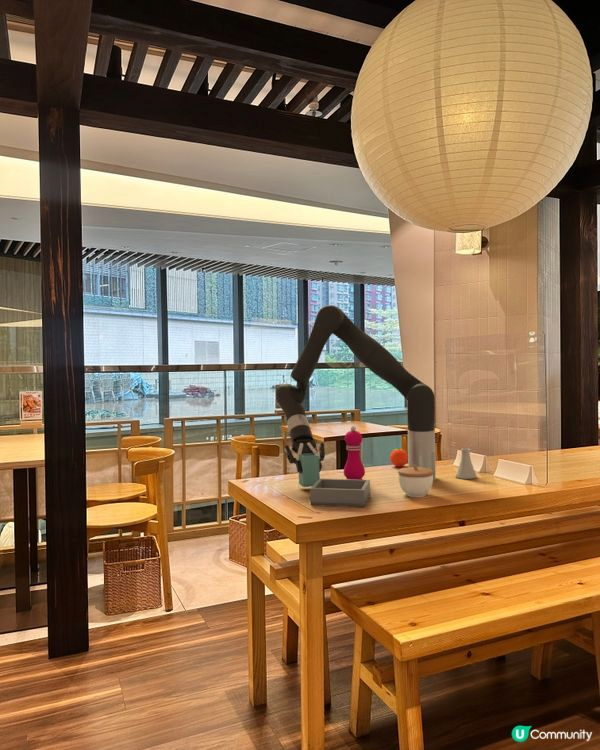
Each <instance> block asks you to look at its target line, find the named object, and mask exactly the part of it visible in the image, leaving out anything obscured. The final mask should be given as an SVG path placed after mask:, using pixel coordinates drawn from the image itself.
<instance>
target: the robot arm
mask: <svg viewBox="0 0 600 750" xmlns="http://www.w3.org/2000/svg"><path fill="white" fill-rule="evenodd" d="M332 335H333V336H334V335H335V336H336V338H338V339H340V340H341V341H342V342H343V343H344V344H345V345H346V346H347V347H348V349H349V350H350V352H351V353H352V354H354V356H355V357H356V358H357V360H359V362H360V363H361V364H362V365H363V366H364V367H366V368H367V370H369V371H370V372H372V373H373V374H375V376H377V377H379V378H380V379H382V380H383V381H385V382H386V383H387V384H390V385H391V386H392V387H394V388H395V389H396V390H397V392H399V393H400V394H401V396H403V398H404V399H406V402H407V403H406V407H407V408H406V409H407V410H406V411H407V412H406V413H407V455H408V461H407V463H408V465H407V466H408V467H414V465H417V467H422V468H428V469H431V470H433V482H435V481H436V479H437V478H436V477H437V475H436V474H437V473H436V472H437V471H436V468H437V466H436V435H435V434H436V428H435V426H436V401H435V400H436V399H435V393H434V391H433V389H432V388H431V387H430V386H429V385H427V384H426V383H424V382H422V381H421V380H419V379H418V378H416V376H414V375H412V374H411V373H410V372H409V371H408V370H407V369H405V367H404V366H403V365H402V364H401V363H400V361H398V359H397V358H396V357H394V355H393V354H392V353H391V352H390V351H388V349H386V348H385V347H384V346H383V345H382V344H381V343H379V342H378V341H377V340H375V339H374V338H373V337H371V335H369V334H367V333H366V332H364V331H363V330H362V329H361V328H359V327H358V326H357V325H356V324H355V323H354V322H353V321H352V319H350V318H349V316H348V315H346V313H344V311H343V310H342V309H341V308H340V307H338V306H337V305H331V304H330V305H329V304H328V305H324V306H322V307H321V308H320V309H319V310H318V311H317V314H316V316H315V320H314V322H313V327H312V330H311V332H310V334H309V337H308V339H307V341H306V344H305V346H304V347H303V349H302V351H301V353H300V355H299V356H298V358H297V361H296V363H295V365H294V366H293V368H292V369H291V372H290V377H291V379H293V380H294V381H295V382H296V386H295V385H292V384H289V383H282V384H280V385H279V386H278V387H277V389H276V392H275V397H276V401H277V403H278V405H279V406H280V408H281V410H282V412H283V413H284V415H285V418H286V423H287V430H288V431H287V432H288V435H289V437H290V442H291V445H288V444H287V445H285V447H284V450H283V452H284V454H285V457H286V459H287V460H288V462H289V464H294V465H295V467H296V471H297V473H298V474H299V473H300V474H301V473H302V471H303V469H302V465H301V461H300V457H299V455H301V454H305V453H312V454H313V453H316V454H318V452H319V470H320V471H322V469H323V465H322V462H324V460H325V456H326V454H325V453H326V451H325V443H324V442H320V443H317V442H315V440H314V436H313V434H312V429H311V426H310V423H309V420H308V418H307V414H306V410H305V408H304V406H303V405H302V404H303V403H304V401H305V399H306V394H307V390H308V385H309V382H310V379H311V377H312V376H313V373H314V371H315V369H316V368H317V366H318V362H319V361H320V357H321V355H322V352H323V350H324V348H325V345H326V344H327V342H328V340H329V339H330V338H331V336H332ZM316 449H317V450H316ZM292 451H293V452H294V453H296V457H294V454H293V452H292ZM317 451H318V452H317ZM408 467H407V468H408Z"/></svg>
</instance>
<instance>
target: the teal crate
mask: <svg viewBox="0 0 600 750" xmlns="http://www.w3.org/2000/svg"><path fill="white" fill-rule="evenodd" d="M319 456H320V454H318V453H317V454H316V453H313V454H312V453H305V454H301V455H299V457H300V461H301V465H302V469H303V471H302V473H301V474H300V473H299V472H298V484H299V485H300V486H301V487H302V488H311V487H312V486H313V485H314V484H315V483H316V482H317V481H318V480H319V479H321V475H320V473H321V470H319Z"/></svg>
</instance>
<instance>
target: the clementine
mask: <svg viewBox="0 0 600 750" xmlns="http://www.w3.org/2000/svg"><path fill="white" fill-rule="evenodd" d="M389 453H390V452H388V453H387V455H389ZM389 459H390V462H391V464H392V465H393V466H395V467H398V468H403V467H404V466H405V465H407V463H408V452H406V451H405V450H404V449H401V448H392V450H391V453H390V456H389Z"/></svg>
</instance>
